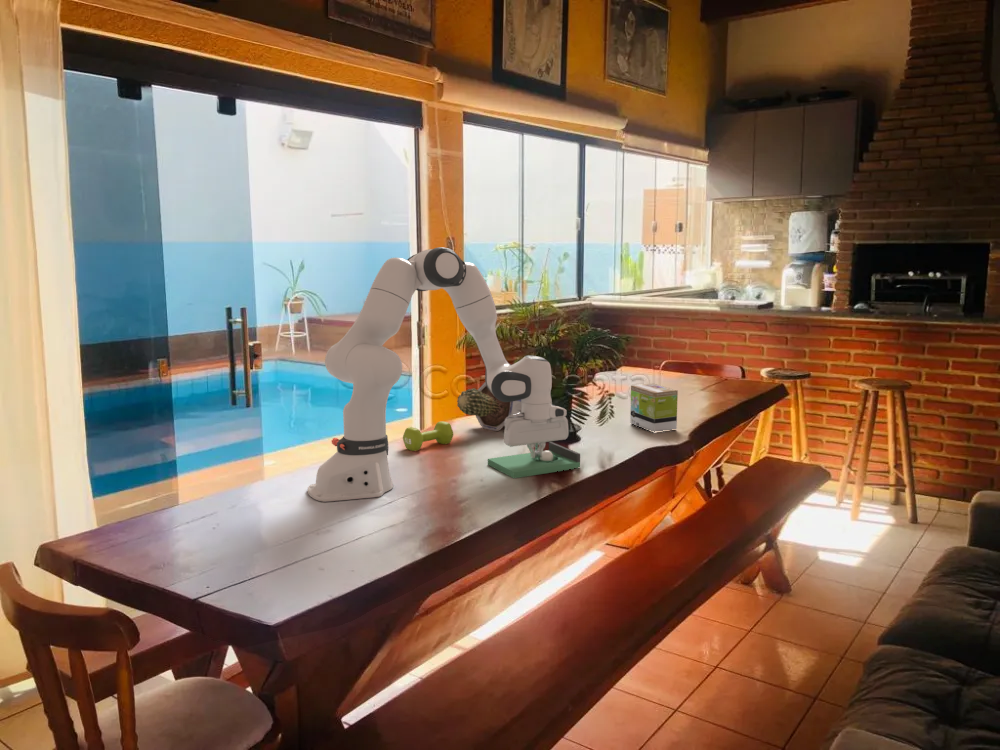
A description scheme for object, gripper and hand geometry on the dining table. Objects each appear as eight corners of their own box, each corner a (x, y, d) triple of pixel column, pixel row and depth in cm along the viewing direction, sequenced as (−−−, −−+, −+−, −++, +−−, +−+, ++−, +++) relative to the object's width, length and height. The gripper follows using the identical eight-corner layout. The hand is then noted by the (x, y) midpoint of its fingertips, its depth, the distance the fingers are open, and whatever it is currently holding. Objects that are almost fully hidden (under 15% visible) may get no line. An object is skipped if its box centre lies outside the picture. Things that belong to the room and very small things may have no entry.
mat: (513, 478, 225) (513, 463, 224) (487, 464, 239) (487, 450, 238) (580, 468, 235) (580, 453, 234) (551, 455, 249) (551, 441, 248)
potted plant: (499, 380, 299) (446, 371, 275) (538, 388, 288) (487, 379, 264) (490, 427, 299) (437, 421, 275) (529, 436, 288) (477, 431, 264)
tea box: (629, 425, 290) (629, 384, 288) (652, 422, 294) (653, 382, 292) (653, 434, 276) (654, 391, 274) (677, 431, 281) (679, 389, 278)
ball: (550, 468, 237) (541, 460, 235) (543, 464, 241) (534, 457, 239) (558, 457, 238) (549, 449, 236) (551, 453, 242) (542, 446, 240)
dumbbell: (415, 453, 252) (414, 431, 251) (400, 448, 258) (399, 426, 257) (456, 444, 263) (455, 423, 262) (440, 440, 269) (440, 419, 268)
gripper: (510, 416, 227) (510, 464, 229) (571, 409, 236) (571, 455, 239) (499, 412, 233) (499, 459, 235) (560, 406, 242) (559, 450, 244)
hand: (536, 457), depth 237 cm, fingers closed
